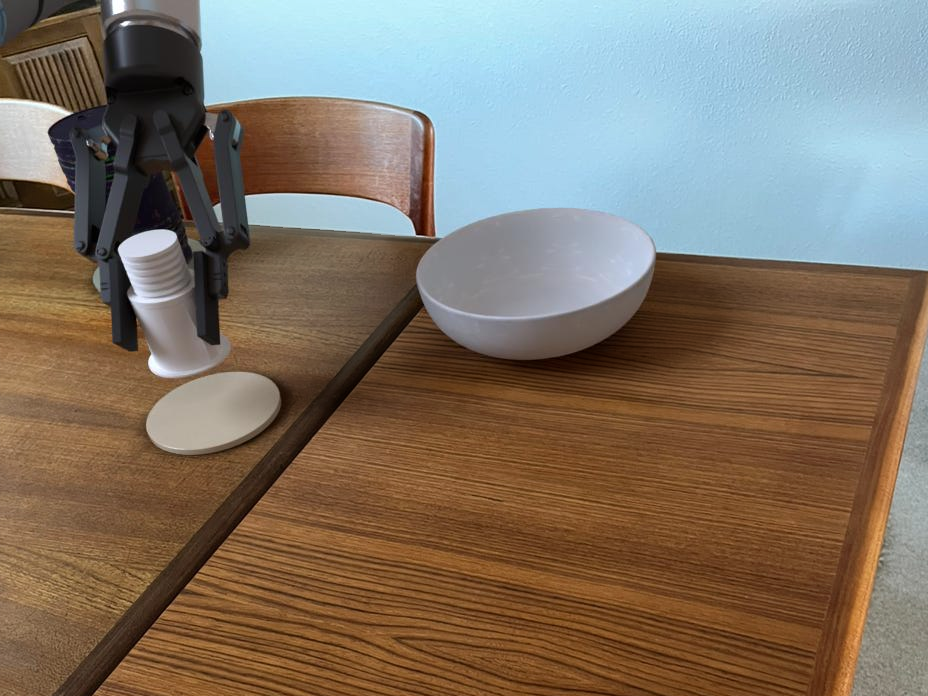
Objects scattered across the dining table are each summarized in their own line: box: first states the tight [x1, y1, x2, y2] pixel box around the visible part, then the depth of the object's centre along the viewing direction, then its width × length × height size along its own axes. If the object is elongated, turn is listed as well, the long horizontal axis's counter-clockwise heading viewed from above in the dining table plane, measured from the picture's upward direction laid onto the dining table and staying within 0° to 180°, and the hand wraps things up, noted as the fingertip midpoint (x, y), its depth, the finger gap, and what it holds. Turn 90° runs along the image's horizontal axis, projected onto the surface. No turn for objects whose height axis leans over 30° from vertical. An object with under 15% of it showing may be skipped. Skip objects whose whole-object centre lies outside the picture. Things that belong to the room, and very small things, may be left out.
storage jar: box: [47, 103, 193, 265], centre depth 102 cm, size 10×10×15 cm
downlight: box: [118, 230, 232, 379], centre depth 78 cm, size 8×7×10 cm
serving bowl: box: [415, 207, 657, 361], centre depth 86 cm, size 21×21×7 cm
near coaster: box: [145, 371, 282, 456], centre depth 86 cm, size 12×12×1 cm
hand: (167, 343), depth 77 cm, fingers closed on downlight, 6 cm apart
